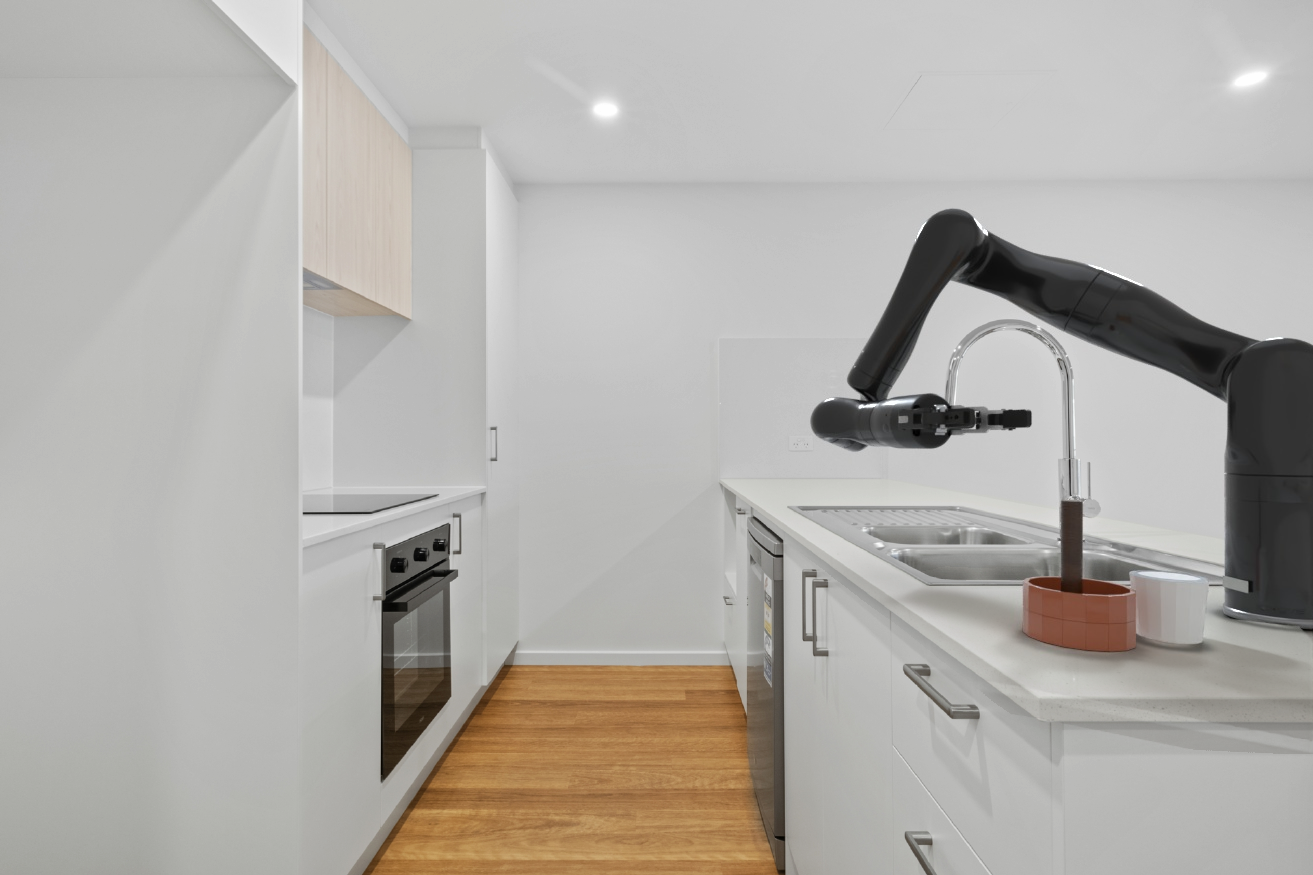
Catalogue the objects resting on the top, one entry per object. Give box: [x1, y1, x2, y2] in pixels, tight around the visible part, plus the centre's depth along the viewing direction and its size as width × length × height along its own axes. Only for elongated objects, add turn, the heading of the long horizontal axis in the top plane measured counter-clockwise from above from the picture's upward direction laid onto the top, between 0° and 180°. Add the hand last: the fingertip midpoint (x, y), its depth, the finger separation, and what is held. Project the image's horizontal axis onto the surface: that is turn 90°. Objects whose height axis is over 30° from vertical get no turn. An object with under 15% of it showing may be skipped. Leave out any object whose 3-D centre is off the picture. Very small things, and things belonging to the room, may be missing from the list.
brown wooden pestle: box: [1060, 499, 1084, 594], centre depth 73 cm, size 3×3×14 cm
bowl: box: [1022, 575, 1137, 653], centre depth 72 cm, size 10×10×6 cm
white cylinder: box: [1128, 569, 1210, 645], centre depth 73 cm, size 7×7×7 cm
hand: (1001, 417), depth 82 cm, fingers open, 8 cm apart
